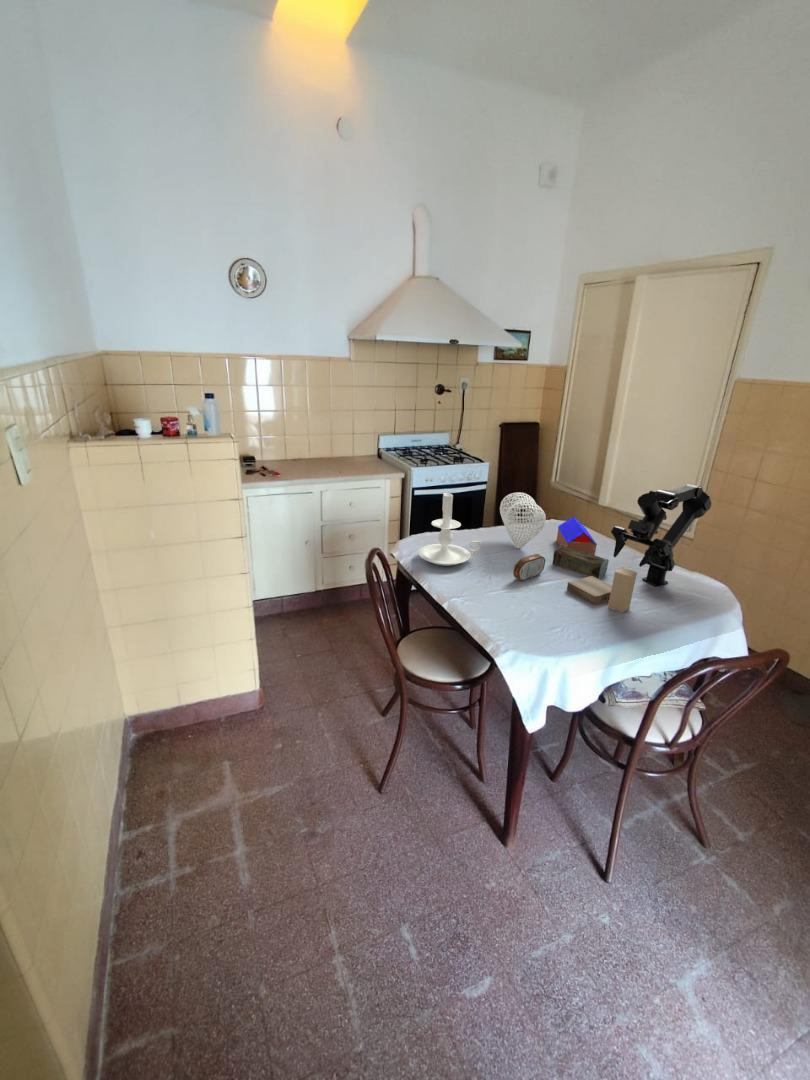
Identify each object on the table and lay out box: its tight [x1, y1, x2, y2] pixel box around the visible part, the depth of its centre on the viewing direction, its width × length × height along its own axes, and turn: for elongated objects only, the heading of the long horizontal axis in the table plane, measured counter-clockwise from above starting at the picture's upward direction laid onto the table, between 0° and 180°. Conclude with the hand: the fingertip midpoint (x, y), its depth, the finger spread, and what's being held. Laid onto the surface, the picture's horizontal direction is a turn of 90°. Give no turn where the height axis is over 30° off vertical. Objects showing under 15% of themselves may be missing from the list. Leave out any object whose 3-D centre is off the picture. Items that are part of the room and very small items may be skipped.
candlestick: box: [417, 492, 483, 567], centre depth 190 cm, size 21×25×28 cm
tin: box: [512, 553, 546, 581], centre depth 181 cm, size 15×3×8 cm, turn 126°
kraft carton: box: [607, 567, 638, 613], centre depth 160 cm, size 5×5×13 cm
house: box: [556, 516, 598, 556], centre depth 207 cm, size 12×20×12 cm, turn 175°
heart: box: [499, 492, 547, 549], centre depth 205 cm, size 28×16×22 cm, turn 0°
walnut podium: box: [566, 576, 612, 606], centre depth 171 cm, size 12×12×3 cm
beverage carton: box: [551, 546, 610, 580], centre depth 190 cm, size 8×19×7 cm, turn 48°
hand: (626, 561), depth 164 cm, fingers open, 9 cm apart
